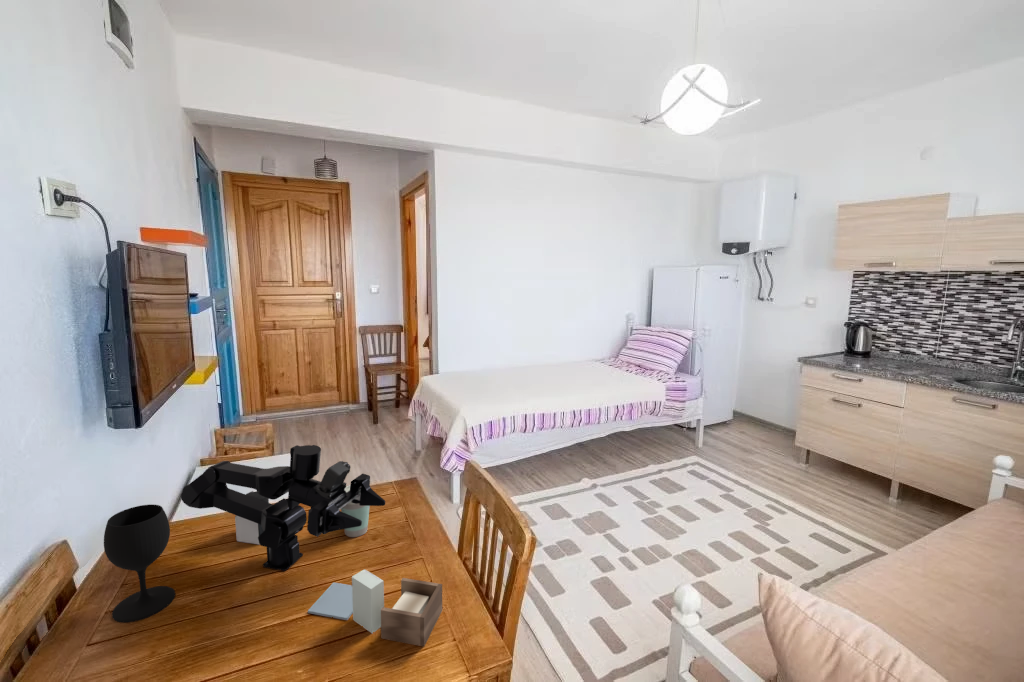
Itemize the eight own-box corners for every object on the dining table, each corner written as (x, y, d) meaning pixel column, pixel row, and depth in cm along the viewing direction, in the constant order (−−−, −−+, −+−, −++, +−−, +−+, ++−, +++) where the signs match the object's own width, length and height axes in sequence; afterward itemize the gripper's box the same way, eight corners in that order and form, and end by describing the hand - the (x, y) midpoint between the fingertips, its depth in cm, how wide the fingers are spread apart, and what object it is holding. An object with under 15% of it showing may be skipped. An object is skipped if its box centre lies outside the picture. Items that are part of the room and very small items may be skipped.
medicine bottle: (259, 545, 115) (257, 501, 114) (235, 541, 117) (232, 498, 115) (279, 530, 122) (277, 488, 121) (256, 527, 124) (254, 485, 122)
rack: (381, 638, 86) (380, 610, 85) (403, 603, 95) (402, 577, 95) (424, 646, 84) (424, 617, 84) (442, 610, 94) (442, 584, 93)
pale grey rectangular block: (353, 619, 91) (351, 576, 89) (365, 611, 93) (364, 569, 92) (372, 633, 87) (370, 589, 86) (384, 624, 90) (383, 580, 89)
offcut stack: (389, 634, 87) (388, 613, 87) (403, 610, 94) (403, 590, 93) (418, 639, 86) (418, 618, 86) (431, 615, 93) (431, 595, 92)
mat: (307, 612, 92) (307, 610, 92) (333, 584, 101) (333, 582, 101) (347, 620, 91) (347, 618, 90) (370, 590, 99) (369, 588, 99)
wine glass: (104, 629, 87) (93, 534, 84) (120, 596, 96) (111, 508, 93) (170, 612, 92) (161, 521, 89) (179, 582, 101) (172, 498, 98)
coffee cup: (360, 519, 128) (358, 479, 127) (379, 529, 123) (378, 488, 122) (333, 532, 121) (331, 491, 120) (352, 544, 116) (350, 500, 115)
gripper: (286, 478, 93) (350, 499, 89) (343, 447, 111) (399, 463, 107) (283, 526, 95) (346, 549, 91) (339, 488, 113) (394, 505, 109)
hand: (373, 512), depth 100 cm, fingers open, 9 cm apart
